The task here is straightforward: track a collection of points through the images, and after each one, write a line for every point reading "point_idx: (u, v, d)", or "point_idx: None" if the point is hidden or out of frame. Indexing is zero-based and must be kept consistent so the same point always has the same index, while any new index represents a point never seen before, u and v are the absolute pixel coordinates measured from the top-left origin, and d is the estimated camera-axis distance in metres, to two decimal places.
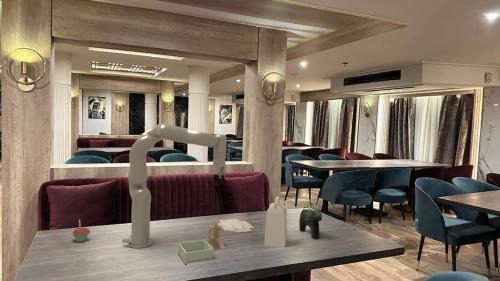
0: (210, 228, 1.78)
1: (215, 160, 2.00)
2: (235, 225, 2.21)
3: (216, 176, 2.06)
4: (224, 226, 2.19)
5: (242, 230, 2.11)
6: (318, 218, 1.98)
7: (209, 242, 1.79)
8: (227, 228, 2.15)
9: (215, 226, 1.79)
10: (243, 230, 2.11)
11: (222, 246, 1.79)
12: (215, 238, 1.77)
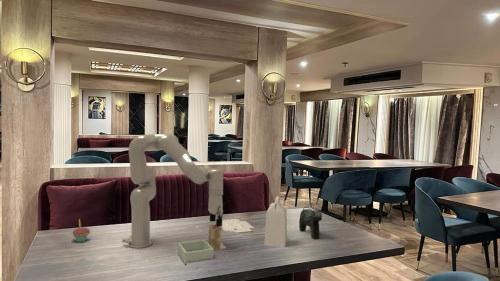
0: (210, 228, 1.78)
1: (211, 198, 1.77)
2: (235, 225, 2.21)
3: (212, 215, 1.83)
4: (224, 226, 2.19)
5: (242, 230, 2.11)
6: (318, 218, 1.98)
7: (209, 242, 1.79)
8: (227, 228, 2.15)
9: (215, 226, 1.79)
10: (243, 230, 2.11)
11: (222, 246, 1.79)
12: (215, 238, 1.77)
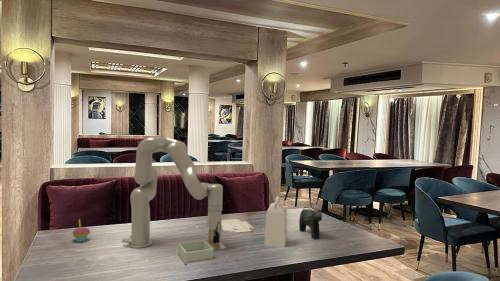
0: None
1: (210, 213, 1.78)
2: (235, 225, 2.21)
3: None
4: (224, 226, 2.19)
5: (241, 230, 2.11)
6: (318, 218, 1.98)
7: (209, 242, 1.79)
8: (227, 228, 2.15)
9: None
10: (242, 230, 2.11)
11: (222, 246, 1.79)
12: None
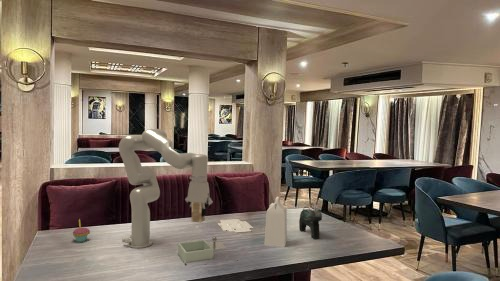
0: None
1: (197, 186, 1.64)
2: (235, 225, 2.21)
3: None
4: (223, 226, 2.19)
5: (241, 230, 2.10)
6: (318, 218, 1.98)
7: (194, 218, 1.65)
8: (226, 228, 2.15)
9: None
10: (242, 230, 2.11)
11: (222, 246, 1.79)
12: None
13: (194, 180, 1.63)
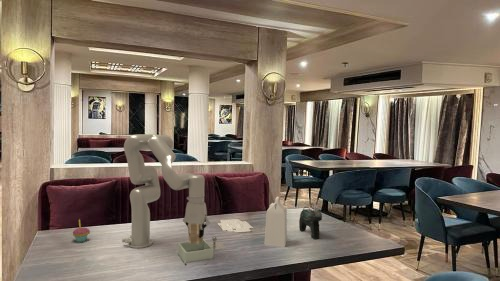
0: None
1: (194, 207, 1.63)
2: (234, 225, 2.21)
3: None
4: (223, 226, 2.19)
5: (240, 230, 2.10)
6: (318, 218, 1.98)
7: (192, 239, 1.64)
8: (226, 228, 2.15)
9: None
10: (241, 230, 2.11)
11: (222, 246, 1.79)
12: None
13: (191, 201, 1.62)
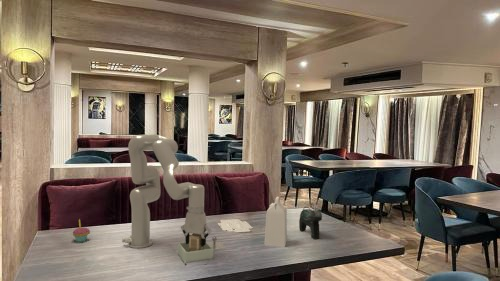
0: (194, 238, 1.64)
1: (194, 217, 1.63)
2: (234, 225, 2.21)
3: (188, 236, 1.68)
4: (223, 226, 2.19)
5: (240, 230, 2.10)
6: (318, 218, 1.98)
7: None
8: (226, 228, 2.15)
9: (197, 235, 1.66)
10: (241, 230, 2.11)
11: (222, 246, 1.79)
12: (200, 247, 1.65)
13: (191, 211, 1.63)
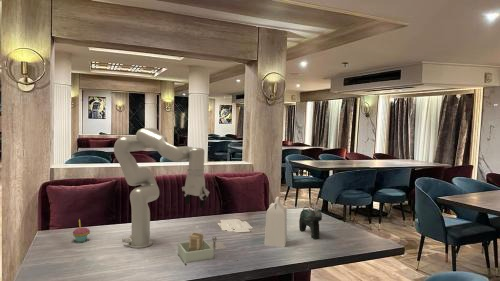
0: (194, 238, 1.64)
1: (192, 179, 1.67)
2: (234, 225, 2.20)
3: (188, 197, 1.72)
4: (223, 226, 2.19)
5: (240, 230, 2.10)
6: (318, 218, 1.98)
7: None
8: (225, 228, 2.15)
9: (197, 235, 1.66)
10: (241, 230, 2.11)
11: (222, 246, 1.79)
12: (200, 247, 1.65)
13: (189, 173, 1.67)
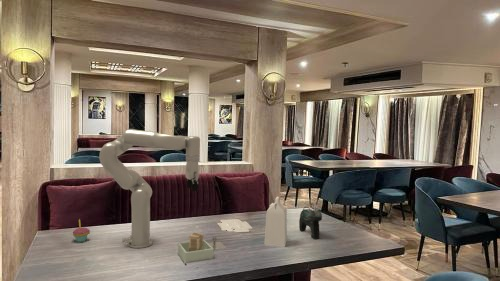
0: (194, 238, 1.64)
1: (188, 164, 1.84)
2: (234, 225, 2.20)
3: (189, 181, 1.90)
4: (223, 226, 2.19)
5: (239, 231, 2.10)
6: (318, 218, 1.98)
7: None
8: (225, 228, 2.15)
9: (197, 235, 1.66)
10: (240, 230, 2.11)
11: (222, 246, 1.79)
12: (200, 247, 1.65)
13: None
